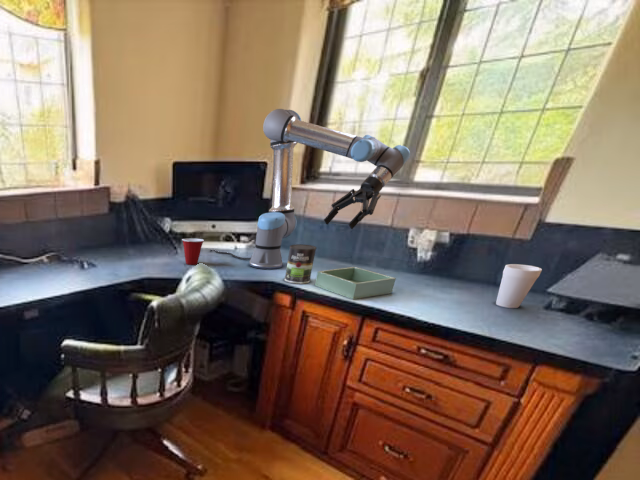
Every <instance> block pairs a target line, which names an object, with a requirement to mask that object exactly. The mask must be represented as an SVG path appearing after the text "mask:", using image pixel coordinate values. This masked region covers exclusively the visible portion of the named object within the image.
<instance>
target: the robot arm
mask: <svg viewBox="0 0 640 480" xmlns="http://www.w3.org/2000/svg"><path fill="white" fill-rule="evenodd" d="M262 130H263V134H264V135H265V137H266V138H267V139H269V140H270V141H269V142H270V143H269V145H270V146H269V147H270V148H271V149H272V150H273V161H272V162H273V164H272V165H273V166H272V198H271V199H272V201H271V203H272V204H271V205H272V206H271V208H269V209H268V212H264V213H262V214H261V215H260V216H259V217H258V220H257V227H256V234H255V235H256V237H255V245H254V250H253V252H252V255H251V257H243V256H242V257H241V256H238V255H234V253H232V252H228V253H227V252H226V251H219V250H216V251H214V250H211V249H210V250H209V252H212V251H213V252H215V253H216V254H223V255H229V256H231V257H233V258H234V259H239V260H244V261H245V260H246V261H247V260H248V261H249V263H248V264H249V267H252V268H255V269H261V270H276V269H280V268H282V267H283V257H282V252H281V251H282V250H281V247H282V241H283V239H286V238H288V237H289V236H291V234H293V233H294V232H295V230H296V228H297V224H298V221H297V217H296V215H295V207H294V206H293V205H292V195H293V193H292V192H293V172H294V171H293V170H294V151H295V149H294V148H295V147H296V145H297V144H301V145H304V146H307V147H310V148H314V149H318V150H321V151H323V152H324V151H325V152H327V153H331V154H335V155H339V156H342V157H345V158H348V159H351V160H353V161H355V162H357V163H358V162H359V163H363V162H368V163H371V164H372V165H373V166H374V167H375V168H374V169H373V170H372V171H371V173H369V175H368V176H367V177H366V178H365V180H363V181H362V183H361V184H360V187H359V189H358V190H355V188H352V189H351V190H349V192H348V193H346V194H344V195H343V196H342V197H340V198H339V199H337V200H336V201H335V202H333V203H332V204H331V207H332V209H331V210H330V211H329V212H328V214H327V215H326V216H325V218H324V219H323V222H324V224H325V225H329V224H330V223H331V222H332V221H333V219H334V218H335V217H336V216H337V215H338V214H339V211H340V210H343V209H344V208H347V207H348V206H350V205H352V204H356V203H361V204H362V209H361V210H359V211H358V212H357V214H356V215H355V216H354V217H353V218H352V219H351V220H350V222H349V223H348V224H347V225H348V226H349V229H351V230H353V229H354V228H355V227H356V226H357V225H358V223H359V222H361V221H362V220H363V219H364V218H365V217H366V216H368V215H369V216H372V215H373V214H374V212H375V209H376V207H377V204H378V201H379V200H380V199H381V197H382V195H381V193H380V192H381V191H382V190H383V188H384V187H385V186H386V185H387V184H388V183H389V182H390V181H391V180H392V178H394V177H395V175H396V174H397V173H398V172H399V171H400V170H401V169H402V168H403V167H404V165H405V164H406V163H407V162H408V160H410V157H411V152H410V150H409V148H408V147H407V146H405V145H401V144H396V145H395V146H394V147H391V146H388V145H387V144H385V143H384V142H382V141H381V140H379V139H377V138H376V137H375V136H372V135H370V134H365V135H364V136H363V137H362V136H357V135H354V134H352V133H351V134H350V133H348V132H343V131H340V130H336V129H332V128H329V127H326V126H321V125H318V124H315V123H311V122H307V121H303V120H302V118H301V116H300V114H299V113H298V112H296V111H295V110H293V109H284V108H276V109H274V110H272V111H270V112H269V113H268V114H267V115H266V117H265V118H264V121H263V124H262ZM218 251H219V252H218Z"/></svg>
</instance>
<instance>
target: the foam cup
mask: <svg viewBox="0 0 640 480" xmlns="http://www.w3.org/2000/svg"><path fill="white" fill-rule="evenodd" d="M542 271H543V269H542V268H541V267H539V266H535V265H528V264H517V263H510V264H505V266H504V269H503V271H502V276H501V280H500V285H499V288H498V292H497V296H496V302H495V305H497V306H499V307H502V308H509V309H517V308H519V307H520V306H521V304H522V303H523V302H524V299H525V298H526V297H527V296H528V293H529V292H530V291H531V289H532V288H533V286H534V284H535V282H536V281H537V279H538V278H539V277H540V275H541V273H542Z"/></svg>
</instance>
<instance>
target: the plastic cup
mask: <svg viewBox="0 0 640 480" xmlns="http://www.w3.org/2000/svg"><path fill="white" fill-rule="evenodd" d="M181 241H182V246H183V250H184V251H183V253H184V260H185V264H186V265H190V266H196V265H198V263H199V259H200V256H201V250H202V246H203V243H204V241H205V239H203V238H192V237H191V238H190V237H189V238H181Z"/></svg>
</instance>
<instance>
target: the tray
mask: <svg viewBox="0 0 640 480" xmlns="http://www.w3.org/2000/svg"><path fill="white" fill-rule="evenodd" d="M396 280H397V277H393V276H390V275H386V274H382V273H379V272H375V271H372V270H368V269H365V268H362V267H356V266H349V267H341V268H335V269H326V270H318V271H317V273H316V277H315V282H314V283H315V284H314V286H315V287H318V288H320V289H323V290H326V291H328V292H331V293H334V294H337V295H340V296H343V297H345V298H348V299H351V300H357V299H363V298H370V297H375V296H382V295H388V294H392V293H393V290H394V287H395V283H396Z"/></svg>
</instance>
